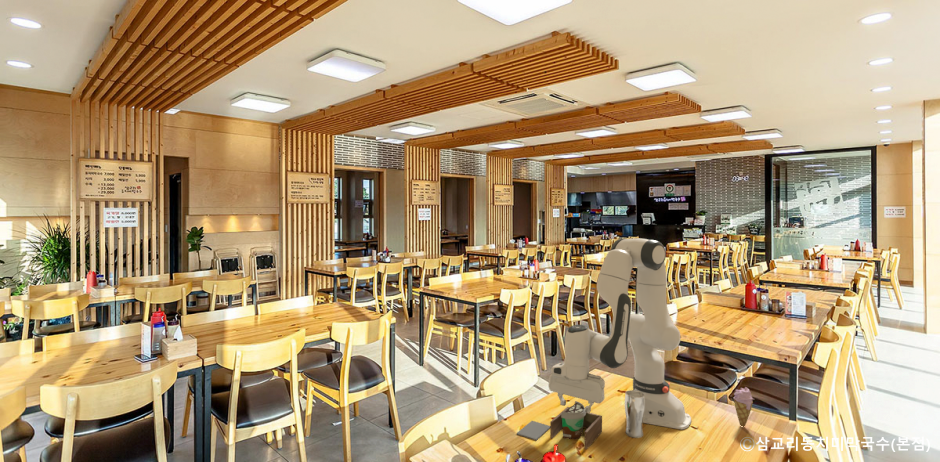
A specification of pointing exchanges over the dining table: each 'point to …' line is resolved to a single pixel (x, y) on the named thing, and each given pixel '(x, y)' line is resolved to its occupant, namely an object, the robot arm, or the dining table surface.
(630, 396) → the beer glass
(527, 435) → the rubber mat
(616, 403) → the dining table surface
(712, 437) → the dining table surface
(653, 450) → the dining table surface
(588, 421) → the open box
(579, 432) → the food container
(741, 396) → the ice cream cone
